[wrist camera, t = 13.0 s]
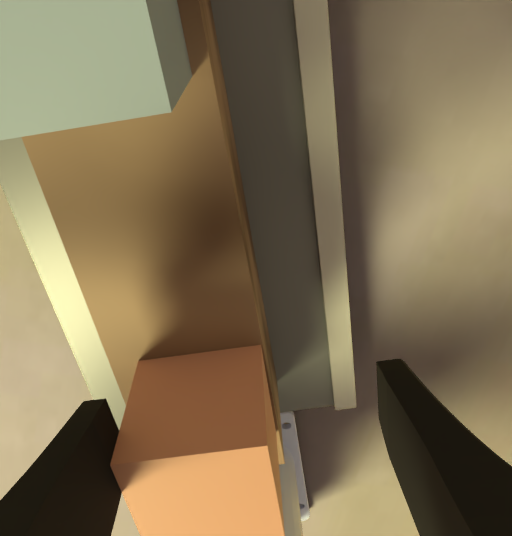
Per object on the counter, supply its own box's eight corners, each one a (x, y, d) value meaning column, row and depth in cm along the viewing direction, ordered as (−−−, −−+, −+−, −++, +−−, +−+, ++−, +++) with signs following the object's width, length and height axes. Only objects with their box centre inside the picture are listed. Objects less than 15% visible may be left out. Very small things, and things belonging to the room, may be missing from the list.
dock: (345, 367, 25) (356, 407, 23) (119, 398, 26) (107, 440, 24) (291, -289, 14) (302, -349, 11) (-118, -204, 14) (-193, -244, 12)
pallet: (277, 381, 22) (284, 464, 18) (169, 395, 23) (155, 480, 19) (175, -199, 13) (145, -285, 9) (-11, -162, 13) (-122, -230, 9)
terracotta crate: (276, 431, 18) (285, 540, 14) (166, 445, 18) (149, 556, 14) (261, 344, 16) (267, 445, 12) (138, 360, 16) (110, 465, 12)
